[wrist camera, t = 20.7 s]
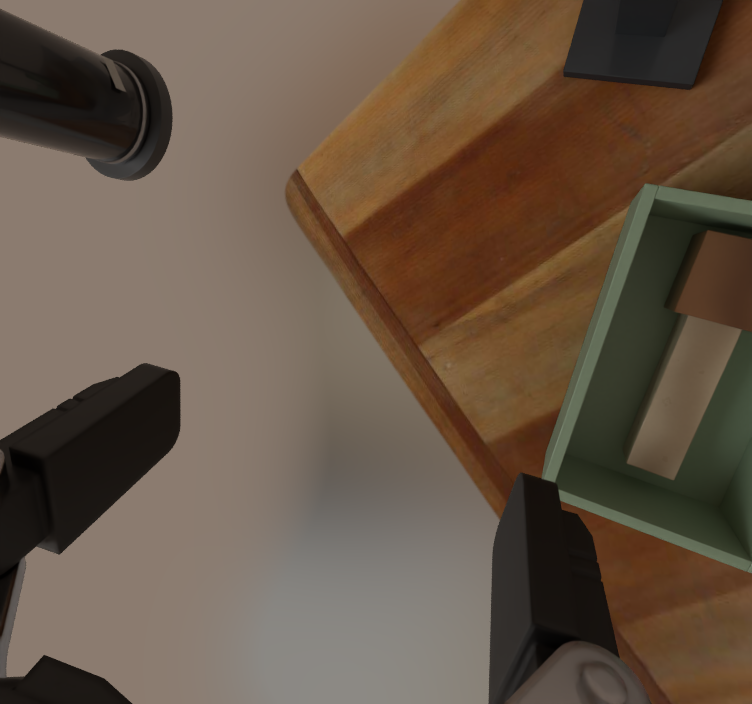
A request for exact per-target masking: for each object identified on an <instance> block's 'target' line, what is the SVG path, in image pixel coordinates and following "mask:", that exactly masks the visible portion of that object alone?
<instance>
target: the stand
mask: <svg viewBox="0 0 752 704" xmlns="http://www.w3.org/2000/svg"><path fill="white" fill-rule="evenodd" d="M722 2H723V0H584V1H583V4H582V8H581V11H580V15H579V18H578V22H577V25H576V29H575V32H574V36H573V39H572V43H571V46H570V49H569V53H568V56H567V60H566V63H565V67H564V70H563V73H564V77H573V78H583V79H592V80H602V81H611V82H621V83H630V84H640V85H649V86H659V87H668V88H677V89H687V90H690V89H691V88H692V86H693V84H694V82H695V79H696V76H697V73H698V71H699V68H700V65H701V62H702V59H703V56H704V53H705V51H706V48H707V45H708V42H709V39H710V36H711V33H712V31H713V28H714V25H715V22H716V19H717V16H718V13H719V11H720V8H721V5H722Z"/></svg>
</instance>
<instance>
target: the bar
mask: <svg viewBox="0 0 752 704" xmlns="http://www.w3.org/2000/svg"><path fill="white" fill-rule="evenodd" d="M664 308H666V309H669V310H672V311H674V312H678V313H679V314H678V316H677V319H676V321H675V323H674V326H673V328H672V331H671V333H670V336H669V338H668V340H667V343H666V345H665V348H664V350H663V352H662V355H661V357H660V360H659V362H658V364H657V367H656V369H655V372H654V374H653V376H652V379H651V381H650V384H649V386H648V388H647V391H646V393H645V396H644V398H643V400H642V403H641V405H640V408H639V410H638V412H637V415H636V417H635V420H634V422H633V424H632V427H631V429H630V432H629V434H628V436H627V439H626V441H625V444H624V446H623V453H624V456H625V460H626V463H627V464H629V465H632V466H635V467H637V468H640V469H643V470H646V471H648V472H651V473H654V474H657V475H659V476H662V477H665V478H667V479H670V480H675V477H676V475H677V473H678V471H679V469H680V466H681V464H682V462H683V460H684V458H685V455H686V453H687V451H688V449H689V447H690V445H691V442H692V440H693V438H694V436H695V434H696V431H697V429H698V427H699V425H700V423H701V420H702V418H703V416H704V414H705V412H706V409H707V407H708V405H709V403H710V401H711V398H712V396H713V394H714V392H715V390H716V387H717V385H718V383H719V381H720V379H721V376H722V374H723V372H724V370H725V368H726V365H727V363H728V361H729V359H730V357H731V354H732V352H733V350H734V348H735V346H736V343H737V341H738V339H739V337H740V335H741V332H742V330H745V331H749V332H752V239H750V238H745V237H740V236H736V235H731V234H726V233H722V232H717V231H712V230H706V231H703V232H700V233H697V234H694V235H693V236H692V238H691V241H690V243H689V246H688V248H687V251H686V253H685V256H684V258H683V260H682V263H681V265H680V268H679V270H678V273H677V275H676V278H675V280H674V283H673V285H672V287H671V290H670V292H669V295H668V297H667V300H666V302H665V305H664Z"/></svg>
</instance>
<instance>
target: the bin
mask: <svg viewBox="0 0 752 704" xmlns="http://www.w3.org/2000/svg"><path fill="white" fill-rule="evenodd" d="M706 230H712V231H717V232H722V233H726V234H731V235H736V236H740V237H745V238H750V239H752V201H750V200H744V199H738V198H732V197H726V196H720V195H714V194H708V193H702V192H696V191H690V190H684V189H678V188H672V187H666V186H658V185H653V184H647V183H646V184H645V185H644V186H643V188H642V189H641V190H640V192H639V193H638V194H637V195H636V197H635V198H634V199H633V201H632V202H631V204H630V207H629V210H628V213H627V216H626V219H625V222H624V225H623V228H622V231H621V234H620V236H619V239H618V242H617V245H616V248H615V251H614V254H613V257H612V260H611V263H610V266H609V269H608V272H607V275H606V278H605V281H604V284H603V286H602V289H601V292H600V295H599V298H598V301H597V304H596V307H595V310H594V313H593V316H592V319H591V322H590V325H589V328H588V331H587V334H586V336H585V339H584V342H583V345H582V348H581V351H580V354H579V357H578V360H577V363H576V366H575V369H574V372H573V375H572V378H571V381H570V384H569V386H568V389H567V392H566V395H565V398H564V401H563V404H562V407H561V410H560V413H559V416H558V419H557V422H556V425H555V428H554V431H553V434H552V437H551V439H550V442H549V445H548V448H547V451H546V456H545V462H544V468H543V473H542V479H545V480H549V481H552V482H556V483H557V485H558V490H559V496H560V500H561V501H563V502H566V503H568V504H571V505H574V506H576V507H579V508H582V509H584V510H587V511H589V512H592V513H595V514H597V515H600V516H603V517H605V518H608V519H610V520H613V521H616V522H618V523H621V524H623V525H626V526H629V527H631V528H634V529H637V530H639V531H642V532H644V533H647V534H650V535H652V536H655V537H657V538H660V539H663V540H665V541H668V542H671V543H673V544H676V545H678V546H681V547H684V548H686V549H689V550H691V551H694V552H697V553H699V554H702V555H705V556H707V557H710V558H712V559H715V560H718V561H720V562H723V563H725V564H728V565H731V566H733V567H736V568H739V569H741V570H744V571H748V572H750V573H752V332H749V331H745V330H742V332H741V335H740V337H739V339H738V341H737V343H736V346H735V348H734V350H733V352H732V354H731V357H730V359H729V361H728V363H727V365H726V368H725V370H724V372H723V374H722V376H721V379H720V381H719V383H718V385H717V387H716V390H715V392H714V394H713V396H712V398H711V401H710V403H709V405H708V407H707V409H706V412H705V414H704V416H703V418H702V420H701V423H700V425H699V427H698V429H697V431H696V434H695V436H694V438H693V440H692V442H691V445H690V447H689V449H688V451H687V453H686V455H685V458H684V460H683V462H682V464H681V466H680V469H679V471H678V473H677V475H676V477H675V480H670V479H667V478H665V477H662V476H659V475H657V474H654V473H651V472H648V471H646V470H643V469H640V468H637V467H635V466H632V465H629V464H627V463H626V460H625V456H624V453H623V446H624V444H625V441H626V439H627V436H628V434H629V432H630V429H631V427H632V424H633V422H634V420H635V417H636V415H637V412H638V410H639V408H640V405H641V403H642V400H643V398H644V396H645V393H646V391H647V388H648V386H649V384H650V381H651V379H652V376H653V374H654V372H655V369H656V367H657V364H658V362H659V360H660V357H661V355H662V352H663V350H664V348H665V345H666V343H667V340H668V338H669V336H670V333H671V331H672V328H673V326H674V323H675V321H676V319H677V316H678V314H679V313H678V312H674V311H672V310H669V309H666V308H664V305H665V302H666V300H667V297H668V295H669V292H670V290H671V287H672V285H673V283H674V280H675V278H676V275H677V273H678V270H679V268H680V265H681V263H682V260H683V258H684V256H685V253H686V251H687V248H688V246H689V243H690V241H691V238H692V236H693V235H694V234H697V233H700V232H703V231H706Z"/></svg>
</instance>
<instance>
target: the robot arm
mask: <svg viewBox="0 0 752 704" xmlns="http://www.w3.org/2000/svg"><path fill="white" fill-rule="evenodd" d="M150 122H151V107H150V100H149V96H148V93H147V90H146V87H145V85H144V83H143V81H142V80H141V78H140V77H139V75H138V74H137V73H136V72H135V71H134V70H132V69H131V68H130V67H128V66H126V65H124V64H121V63H119V62H117V61H113V60H111V59H109V58H106V57H104V56H101V55H99V54H97V53H95V52H92V51H91V50H89V49H87V48H84V47H82V46H80V45H78V44H76V43H73V42H71V41H69V40H67V39H65V38H63V37H60V36H58V35H56V34H54V33H51V32H50V31H47V30H45V29H43V28H41V27H39V26H37V25H34V24H32V23H30V22H28V21H26V20H23V19H21V18H19V17H17V16H15V15H13V14H10V13H8V12H6V11H4V10H2V9H0V137H3V138H7V139H11V140H16V141H20V142H24V143H28V144H32V145H36V146H41V147H45V148H50V149H54V150H57V151H62V152H66V153H70V154H74V155H78V156H82V157H86V158H91V159H95V160H98V161H100V162H103V163H107V164H111V165H121V164H125V163H127V162H129V161H131V160H132V159H133V158H134V157H136V156H137V154H138V153H139V152H140V151H141V149H142V147H143V146H144V144H145V142H146V139H147V136H148V133H149V129H150ZM179 432H180V377H179V375H178V373H177V372H175V371H171V370H168V369H165V368H161V367H158V366H154V365H151V364H147V363H144V364H141V365H139V366H137V367H136V368H134V369H132V370H131V371H129V372H128V373H126V374H124V375H123V376H121V377H120V378H119V377H115V378H112V379H109V380H106V381H103V382H99V383H96V384H93V385H91V386H90V387H88V388H86V389H85V390H83V391H81V392H80V393H78V394H76V395H75V396H74V397H73V399H68V400H66V401H65V402H63V403H61V404H60V405H58V406H57V408H56V409H51V410H50V411H48V412H46V413H45V414H43V415H41V416H40V417H38V418H36V419H35V420H33V421H31V422H30V423H28V424H26V425H25V426H23V427H22V428H20V429H18V430H16V431H15V432H13V433H11V434H10V435H8V436H6V437H5V438H3V439H1V440H0V704H132V703H131V702H130V701H129V700H128V699H127V698H125V697H124V696H123V695H122V694H121V693H120V692H119V691H118V690H117V689H115V688H114V687H113V686H112V685H111V684H110V683H109V682H108V681H106V680H105V679H104V678H101V677H99V676H96V675H94V674H91V673H89V672H86V671H84V670H81V669H79V668H76V667H74V666H71V665H68V664H66V663H63V662H61V661H58V660H56V659H53V658H51V657H48V656H45V655H44V656H43V657H42V658H41V659H40V660H39V661H38V662H37V663H36V665H35V666H34V667H33V668H32V669H31V670H30V671H29V673H28V674H27V675H26V676H25V677H6V662H7V653H8V648H9V643H10V639H11V634H12V629H13V625H14V620H15V615H16V611H17V606H18V601H19V597H20V592H21V588H22V583H23V579H24V574H25V569H26V561H25V556H26V555H27V554H28V553H29V552H30V551H31V550H32V549H34V548H35V547H36V546H37V547H40V548H43V549H45V550H48V551H51V552H54V553H56V554H61V553H62V552H63V551H64V550H65V549H66V548H67V547H68V546H69V545H70V544H71V543H72V542H74V540H76V539H77V538H78V537H79V536H80V535H81V534H82V533H83V532H84V531H85V530H86V529H87V528H88V527H89V526H91V525H92V523H94V522H95V521H96V520H97V519H98V518H99V517H100V516H101V515H102V514H103V513H104V512H105V511H107V510H108V509H109V508H110V507H111V506H112V505H113V504H114V503H115V502H116V501H117V500H118V499H119V498H120V497H121V496H122V495H124V494H125V493H126V492H127V491H128V490H129V489H130V488H131V487H132V486H133V485H134V484H135V483H136V482H137V481H138V480H140V479H141V478H142V477H143V476H144V475H145V474H146V473H147V472H148V471H149V470H150V469H151V468H152V467H153V466H154V465H156V464H157V463H158V462H159V461H160V460H161V459H162V458H163V457H164V456H165V455H166V454H167V453H168V452H169V451H170V450H171V449H172V448H173V446H174V444H175V443H176V440H177V438H178V435H179ZM492 558H493V559H492V594H491V632H490V634H491V635H490V671H489V704H651V702H650V699H649V696H648V694H647V692H646V690H645V688H644V686H643V685H642V683H641V682H640V680H639V679H638V677H637V676H636V675H635V674H634V672H633V671H632V670H631V669H630V668H629V667H628V666H627V665H626V664H625V663H624V662H623V661H622V660H621V659H620V657H619V654H618V649H617V645H616V640H615V636H614V631H613V627H612V622H611V618H610V613H609V609H608V604H607V600H606V595H605V591H604V586H603V582H601V573H600V568H599V564H598V563H597V555H596V551H595V546H594V542H593V537H592V535H591V534H590V532H589V531H588V529H587V528H586V526H585V525H584V523H583V522H582V520H581V519H580V517H579V516H578V514H574V513H571V512H568V511H564V510H562V509H561V503H560V496H559V490H558V485H557V483H556V482H552V481H549V480H545V479H542V478H538V477H535V476H531V475H528V474H524V473H520V474H519V475H518V477H517V478H516V481H515V483H514V486H513V489H512V491H511V494H510V496H509V499H508V502H507V504H506V507H505V509H504V512H503V515H502V517H501V520H500V522H499V525H498V528H497V532H496V536H495V541H494V546H493V557H492Z"/></svg>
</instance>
